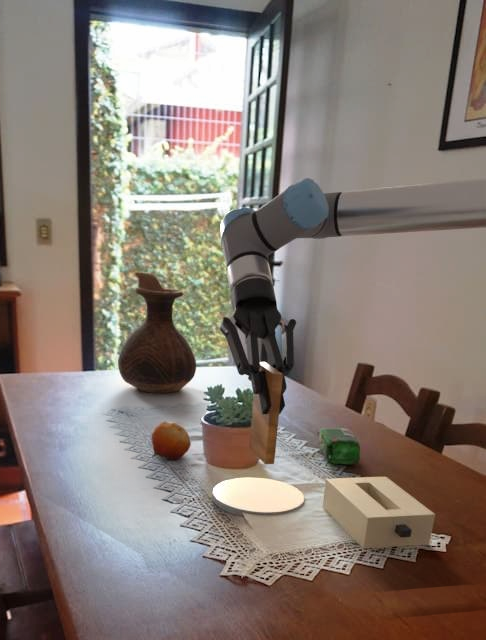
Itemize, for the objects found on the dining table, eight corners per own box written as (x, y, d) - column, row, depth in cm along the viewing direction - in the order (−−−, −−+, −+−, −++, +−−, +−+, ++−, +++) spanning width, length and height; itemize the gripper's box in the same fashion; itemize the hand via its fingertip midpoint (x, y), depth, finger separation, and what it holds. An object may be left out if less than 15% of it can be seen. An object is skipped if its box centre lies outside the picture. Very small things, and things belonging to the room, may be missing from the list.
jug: (203, 383, 199) (208, 276, 188) (184, 400, 180) (189, 282, 168) (132, 376, 204) (133, 270, 192) (106, 392, 184) (106, 276, 173)
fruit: (148, 440, 143) (168, 410, 139) (179, 462, 143) (200, 433, 140) (137, 452, 135) (158, 421, 132) (169, 475, 136) (191, 445, 132)
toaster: (380, 508, 119) (385, 476, 117) (435, 555, 103) (442, 519, 101) (321, 511, 116) (325, 478, 114) (368, 560, 100) (374, 523, 98)
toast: (257, 446, 121) (265, 361, 115) (274, 464, 113) (283, 373, 107) (249, 446, 120) (256, 361, 114) (264, 464, 112) (273, 373, 106)
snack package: (346, 446, 151) (349, 423, 149) (361, 470, 137) (364, 445, 135) (314, 444, 151) (317, 421, 149) (326, 468, 137) (328, 443, 135)
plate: (285, 481, 128) (286, 475, 128) (317, 516, 114) (318, 510, 114) (203, 485, 125) (203, 478, 124) (225, 521, 111) (225, 514, 110)
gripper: (285, 304, 123) (308, 420, 114) (206, 302, 119) (224, 422, 111) (298, 276, 116) (324, 397, 108) (215, 273, 113) (235, 398, 104)
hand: (273, 409), depth 109 cm, fingers closed on toast, 2 cm apart
